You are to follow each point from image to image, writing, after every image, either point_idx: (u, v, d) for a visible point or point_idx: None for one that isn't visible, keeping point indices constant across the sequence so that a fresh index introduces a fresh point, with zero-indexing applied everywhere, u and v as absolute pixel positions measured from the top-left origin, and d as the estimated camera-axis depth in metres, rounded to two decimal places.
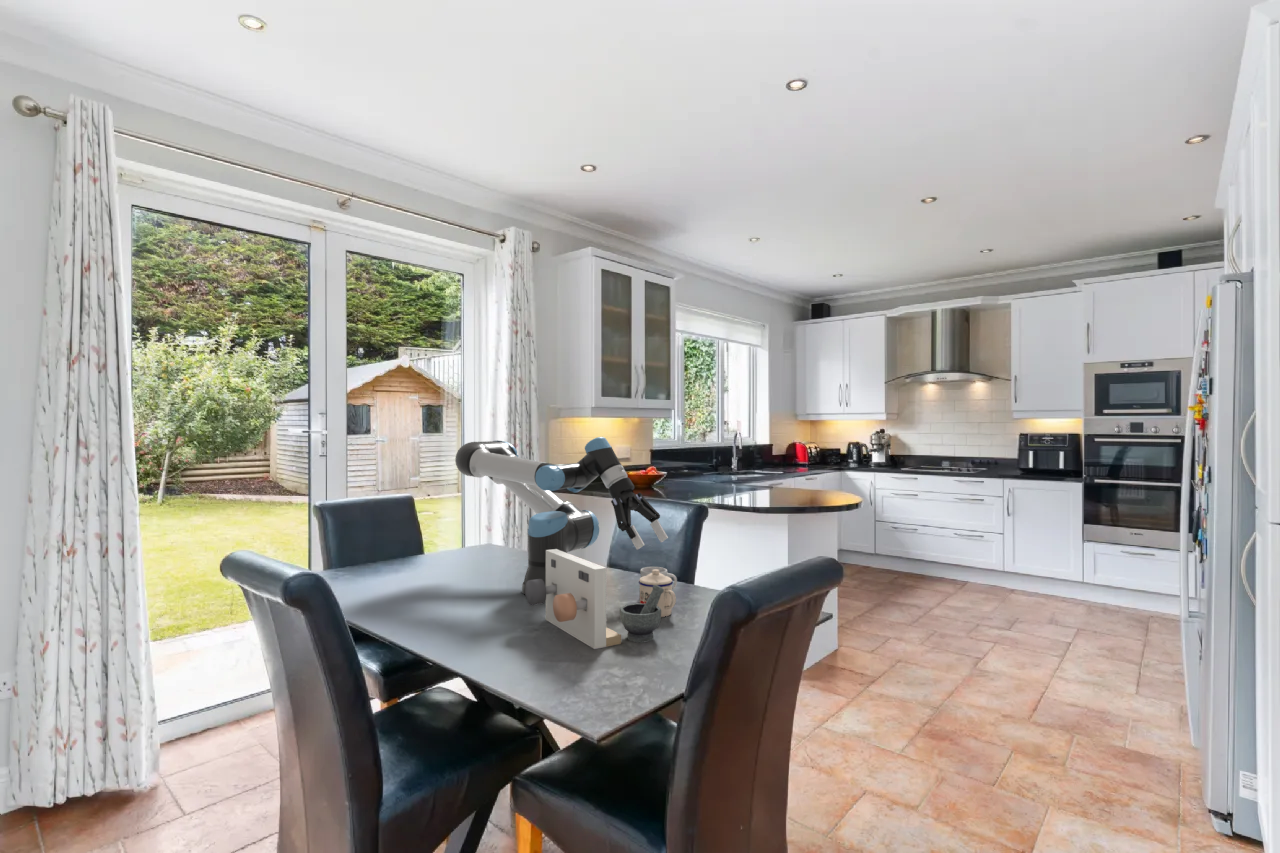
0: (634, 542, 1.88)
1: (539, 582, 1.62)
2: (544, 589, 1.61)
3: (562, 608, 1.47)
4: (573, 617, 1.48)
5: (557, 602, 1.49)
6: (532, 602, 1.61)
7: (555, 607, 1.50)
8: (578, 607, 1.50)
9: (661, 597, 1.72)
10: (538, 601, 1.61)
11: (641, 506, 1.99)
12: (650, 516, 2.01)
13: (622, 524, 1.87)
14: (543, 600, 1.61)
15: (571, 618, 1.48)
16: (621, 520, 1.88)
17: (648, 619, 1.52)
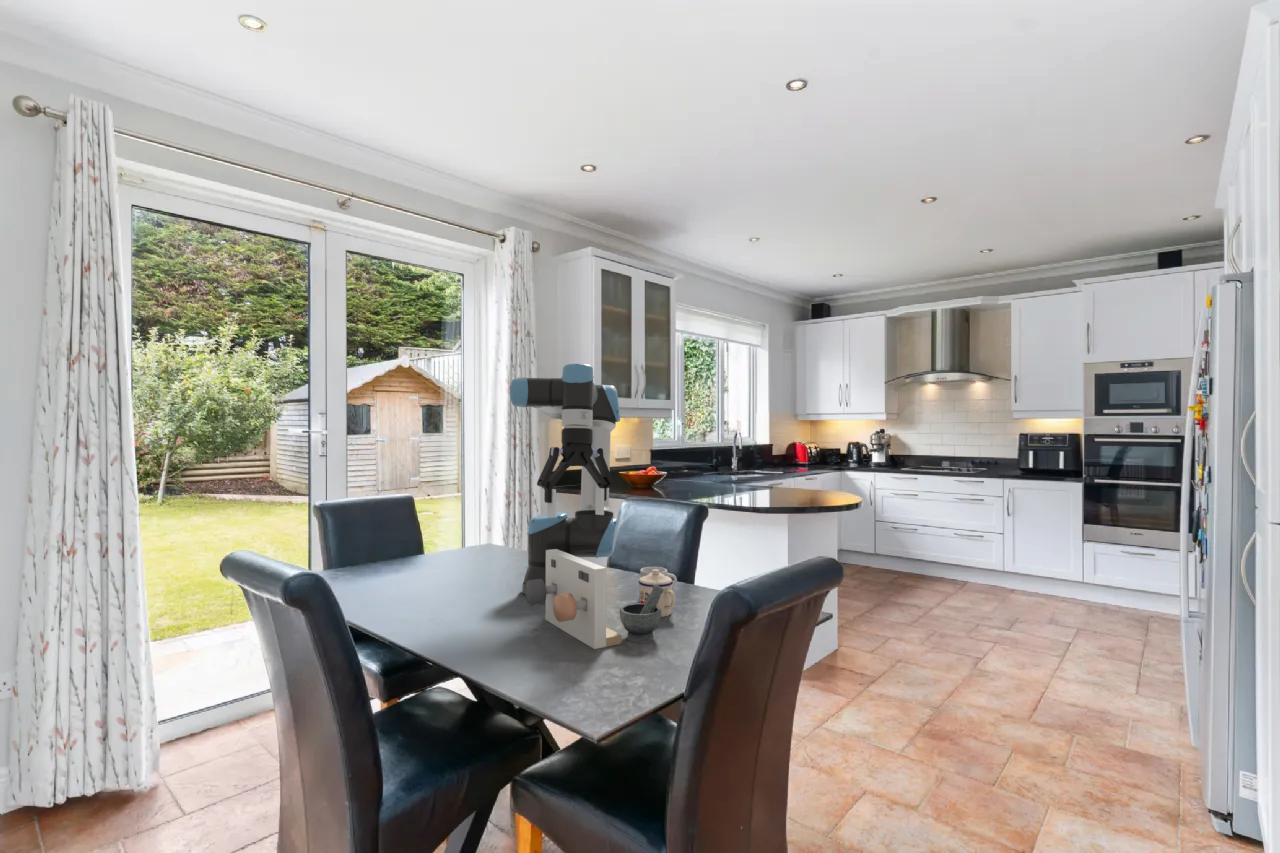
0: (548, 507, 1.55)
1: (539, 582, 1.62)
2: (544, 589, 1.61)
3: (562, 608, 1.47)
4: (573, 617, 1.48)
5: (557, 602, 1.49)
6: (532, 602, 1.61)
7: (555, 607, 1.50)
8: (578, 607, 1.50)
9: (661, 597, 1.72)
10: (538, 601, 1.61)
11: (590, 467, 1.60)
12: (598, 481, 1.62)
13: (540, 484, 1.52)
14: (543, 600, 1.61)
15: (571, 618, 1.48)
16: (542, 478, 1.53)
17: (648, 619, 1.52)
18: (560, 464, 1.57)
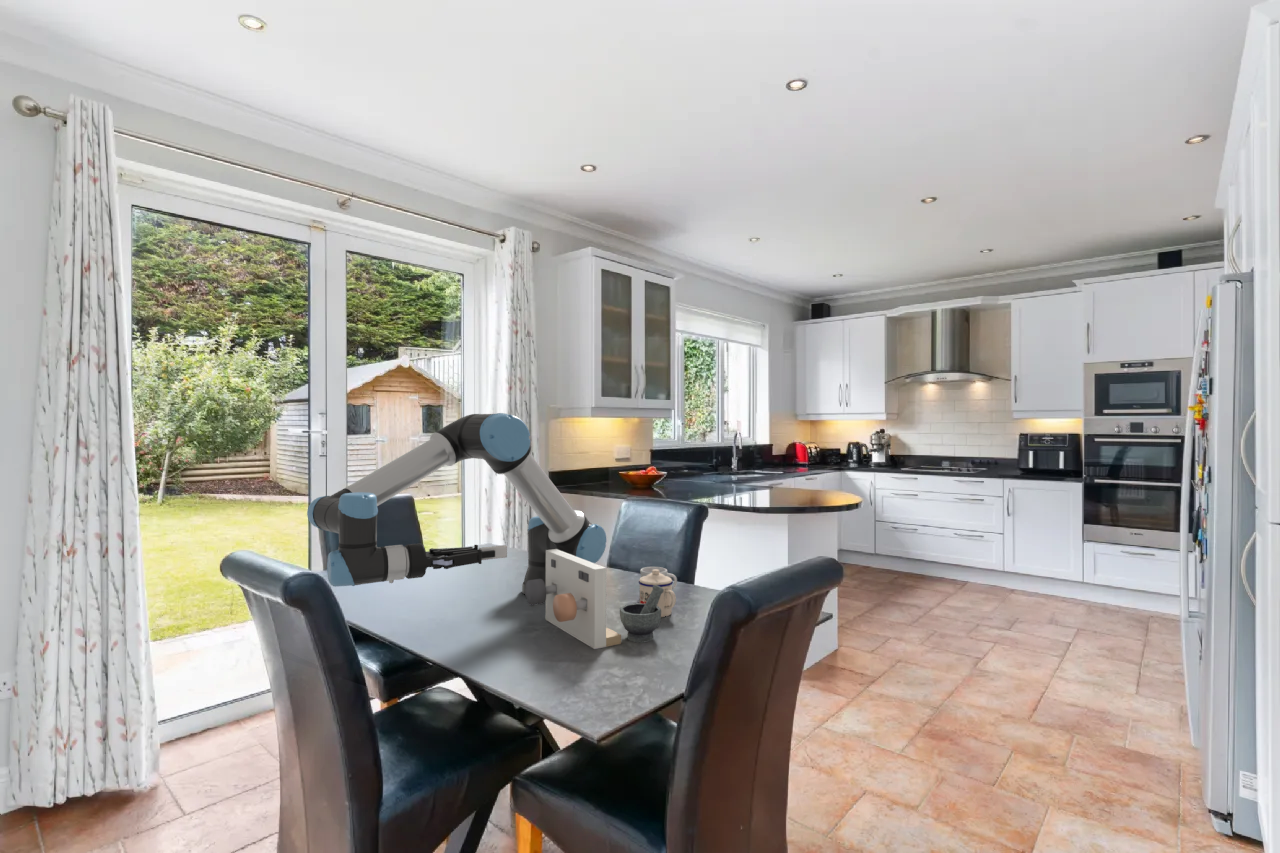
0: None
1: (539, 582, 1.62)
2: (544, 589, 1.61)
3: (562, 608, 1.47)
4: (573, 617, 1.48)
5: (557, 602, 1.49)
6: (532, 602, 1.61)
7: (555, 607, 1.50)
8: (578, 607, 1.50)
9: (661, 597, 1.72)
10: (538, 601, 1.61)
11: None
12: None
13: None
14: (543, 600, 1.61)
15: (571, 618, 1.48)
16: None
17: (648, 619, 1.52)
18: None
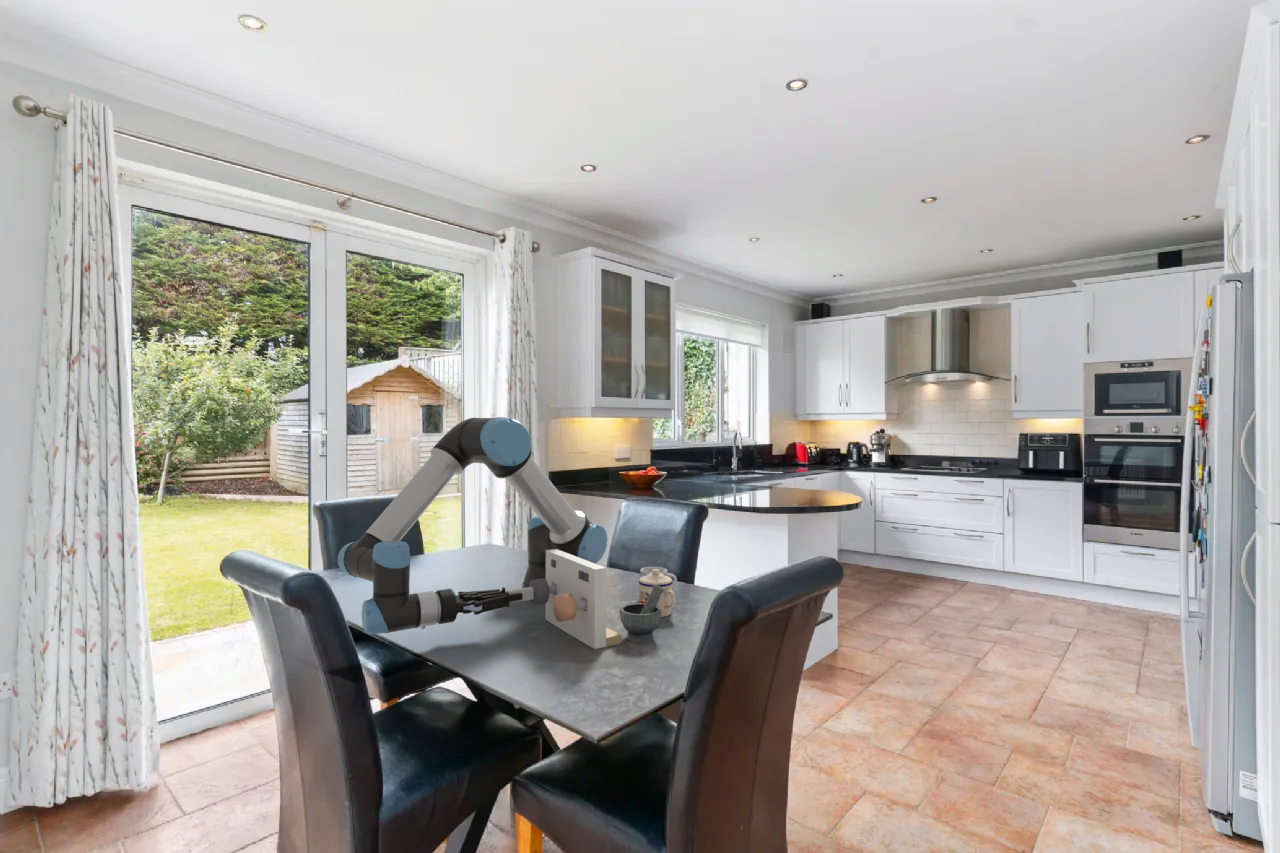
0: None
1: (542, 582, 1.62)
2: (547, 589, 1.61)
3: (562, 608, 1.47)
4: (573, 617, 1.48)
5: (557, 602, 1.49)
6: (535, 602, 1.61)
7: (555, 607, 1.50)
8: (578, 607, 1.50)
9: (661, 597, 1.72)
10: (541, 601, 1.61)
11: None
12: None
13: None
14: (546, 600, 1.62)
15: (571, 618, 1.48)
16: None
17: (648, 619, 1.52)
18: None
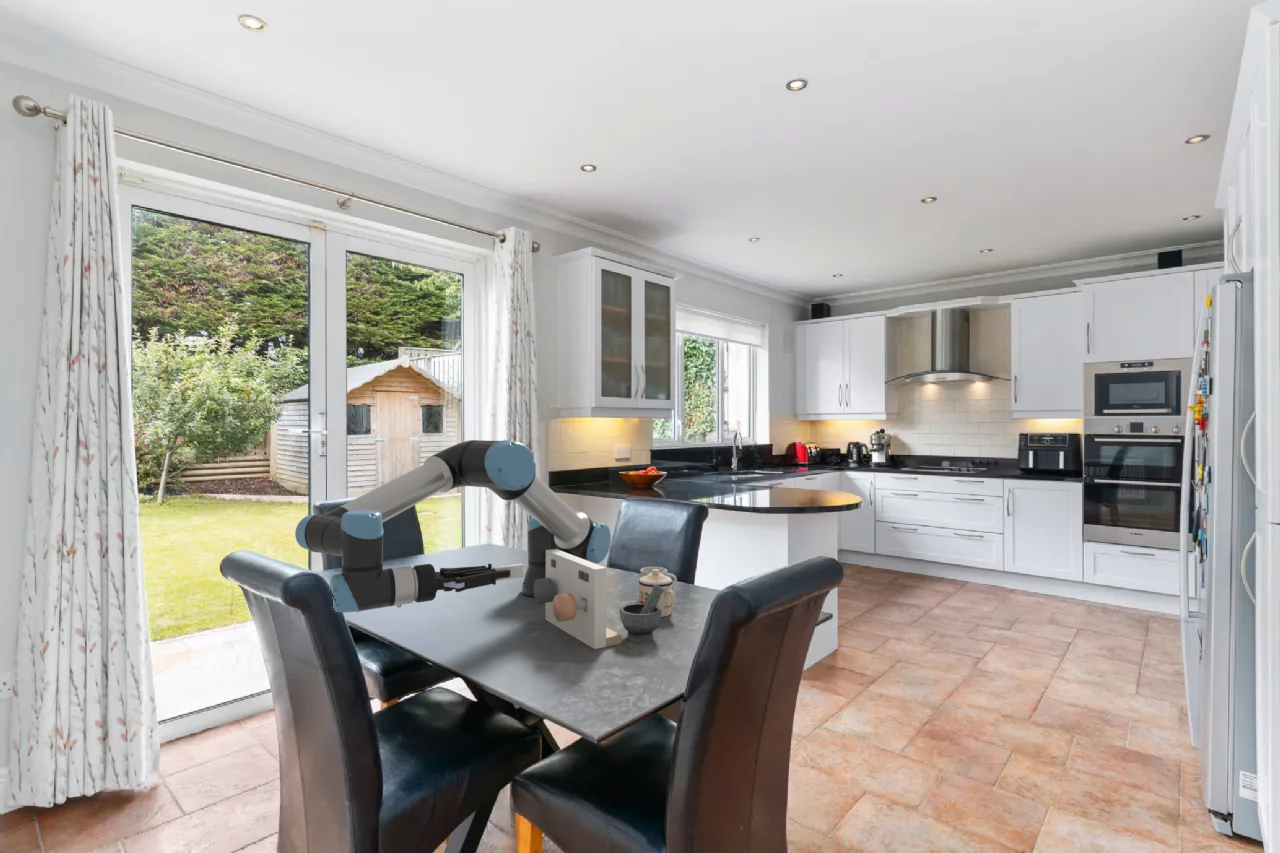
0: None
1: (547, 581, 1.63)
2: (552, 588, 1.62)
3: (562, 608, 1.47)
4: (573, 617, 1.48)
5: (557, 602, 1.49)
6: (540, 601, 1.62)
7: (555, 607, 1.50)
8: (578, 607, 1.50)
9: (661, 597, 1.72)
10: (546, 600, 1.62)
11: None
12: None
13: None
14: (551, 599, 1.63)
15: (571, 618, 1.48)
16: None
17: (648, 619, 1.52)
18: None
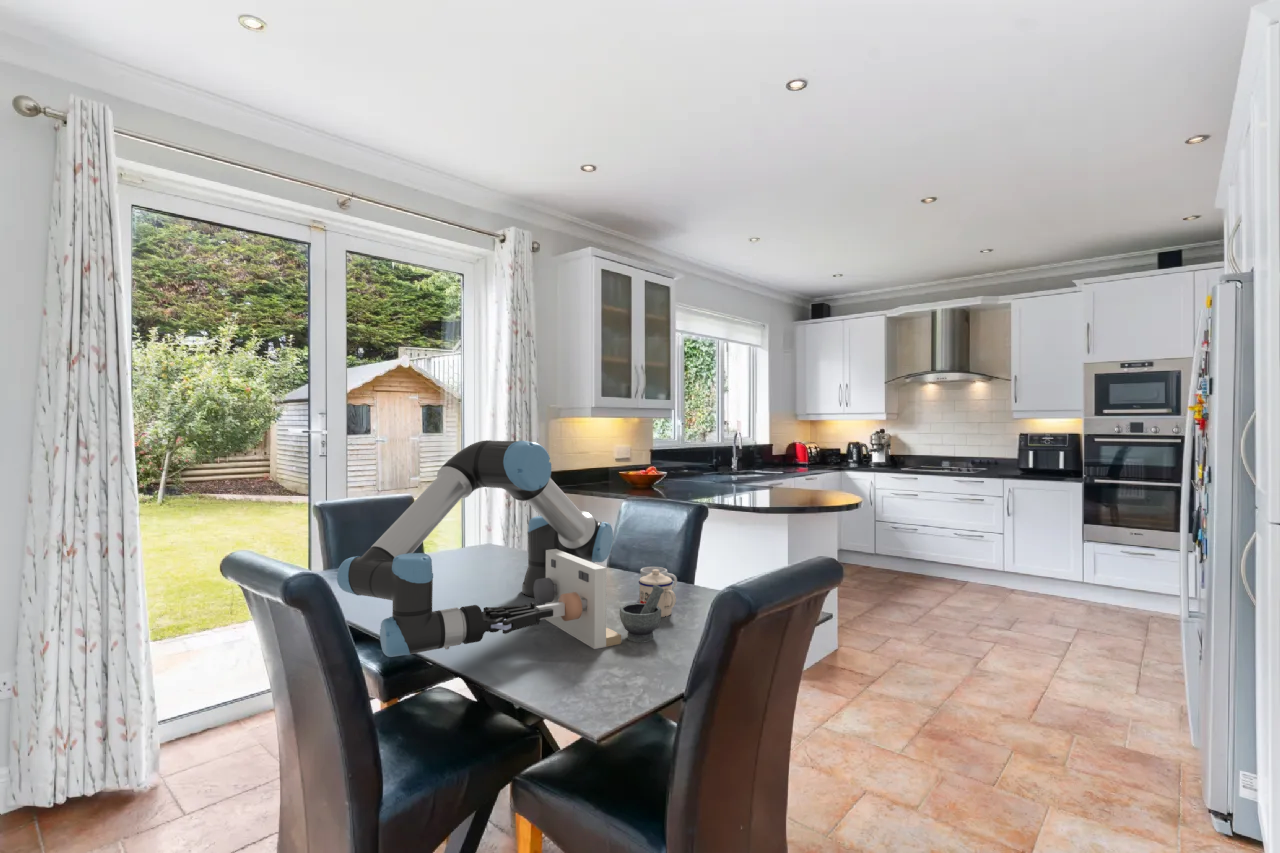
0: None
1: (547, 581, 1.63)
2: (552, 588, 1.62)
3: (567, 607, 1.48)
4: (578, 616, 1.49)
5: (562, 601, 1.50)
6: (540, 601, 1.62)
7: None
8: (583, 606, 1.51)
9: (661, 597, 1.72)
10: (546, 600, 1.62)
11: None
12: None
13: None
14: (551, 599, 1.63)
15: (576, 617, 1.49)
16: None
17: (648, 619, 1.52)
18: None
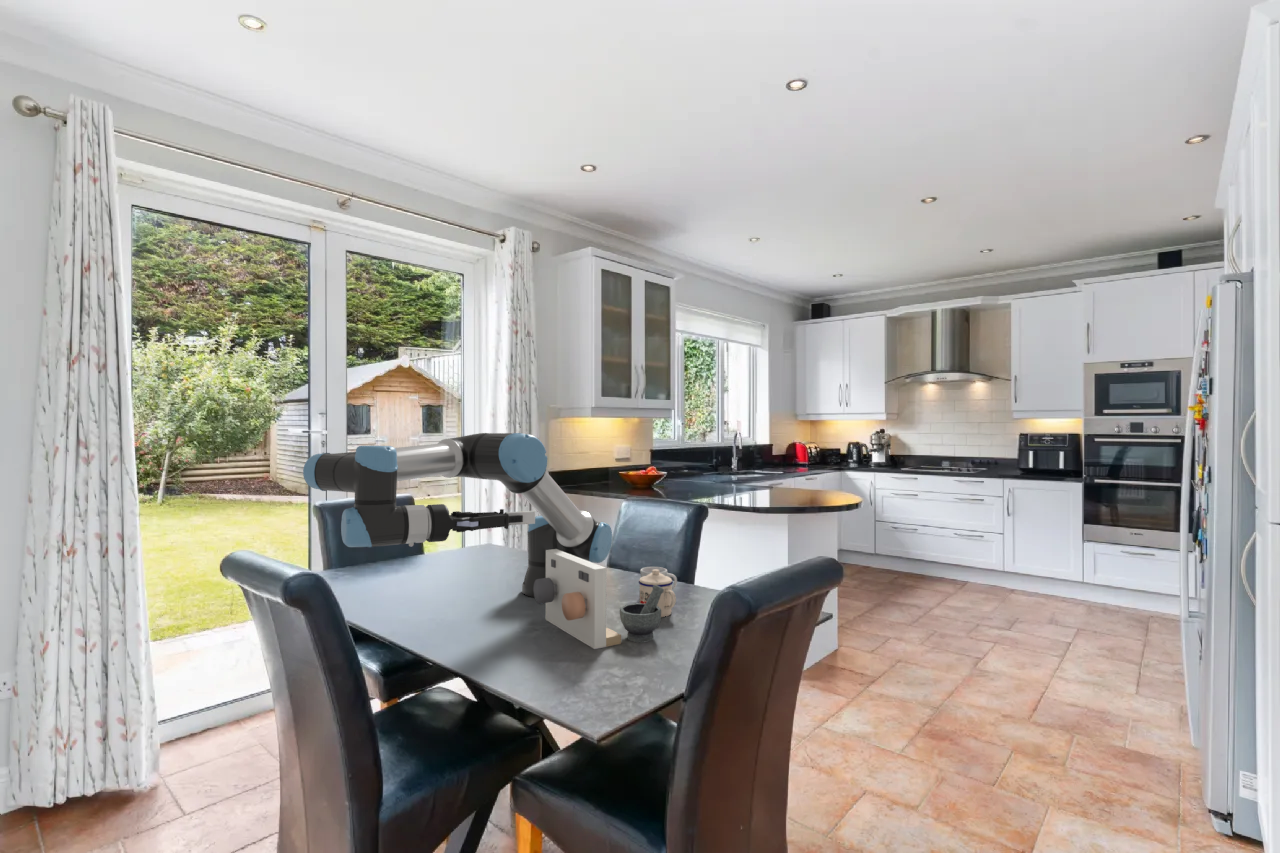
0: None
1: (547, 581, 1.63)
2: (552, 588, 1.62)
3: (571, 607, 1.48)
4: (582, 615, 1.49)
5: (566, 600, 1.50)
6: (540, 601, 1.62)
7: (564, 606, 1.51)
8: None
9: (661, 597, 1.72)
10: (546, 600, 1.62)
11: None
12: None
13: None
14: (551, 599, 1.63)
15: (580, 616, 1.49)
16: None
17: (648, 619, 1.52)
18: None
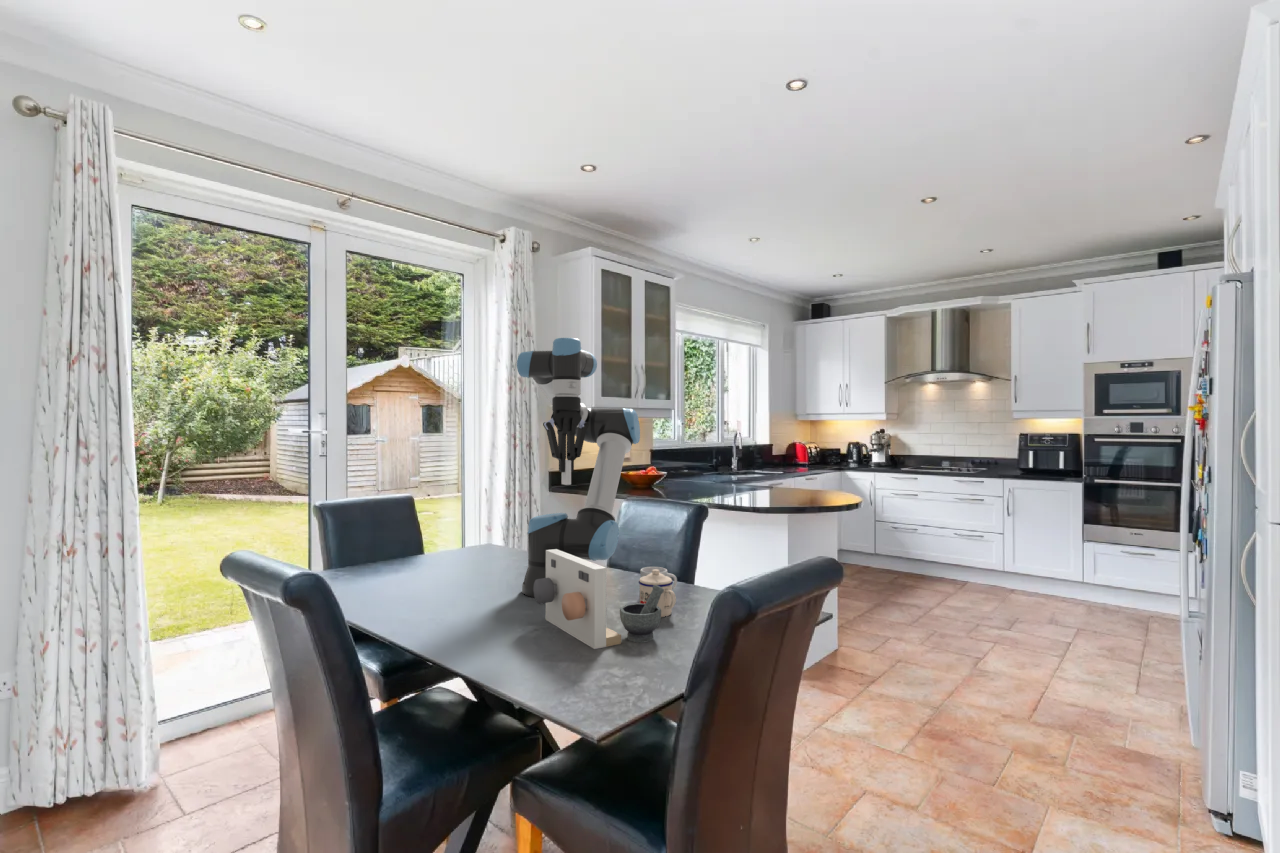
0: (562, 476, 1.76)
1: (547, 581, 1.63)
2: (552, 588, 1.62)
3: (571, 607, 1.48)
4: (582, 615, 1.49)
5: (566, 600, 1.50)
6: (540, 601, 1.62)
7: (564, 606, 1.51)
8: None
9: (661, 597, 1.72)
10: (546, 600, 1.62)
11: (570, 433, 1.75)
12: (569, 450, 1.76)
13: (554, 455, 1.74)
14: (551, 599, 1.63)
15: (580, 616, 1.49)
16: (554, 452, 1.73)
17: (648, 619, 1.52)
18: (559, 434, 1.75)
